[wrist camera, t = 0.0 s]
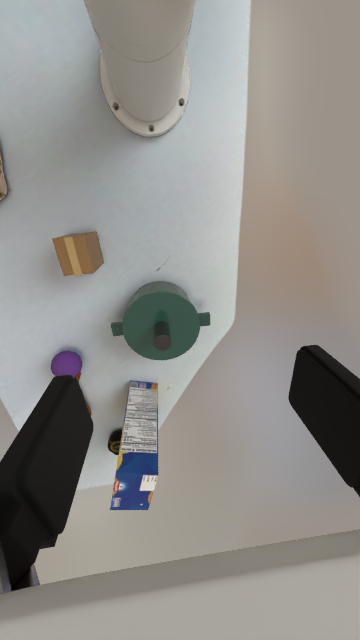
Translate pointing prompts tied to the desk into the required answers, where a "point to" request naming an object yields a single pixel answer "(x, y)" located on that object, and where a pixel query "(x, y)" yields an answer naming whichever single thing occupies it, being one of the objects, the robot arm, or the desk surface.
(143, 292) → the pot
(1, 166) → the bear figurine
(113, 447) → the tape measure
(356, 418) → the robot arm
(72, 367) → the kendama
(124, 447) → the blue cardboard box
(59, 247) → the package
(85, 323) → the desk surface
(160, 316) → the pot lid
